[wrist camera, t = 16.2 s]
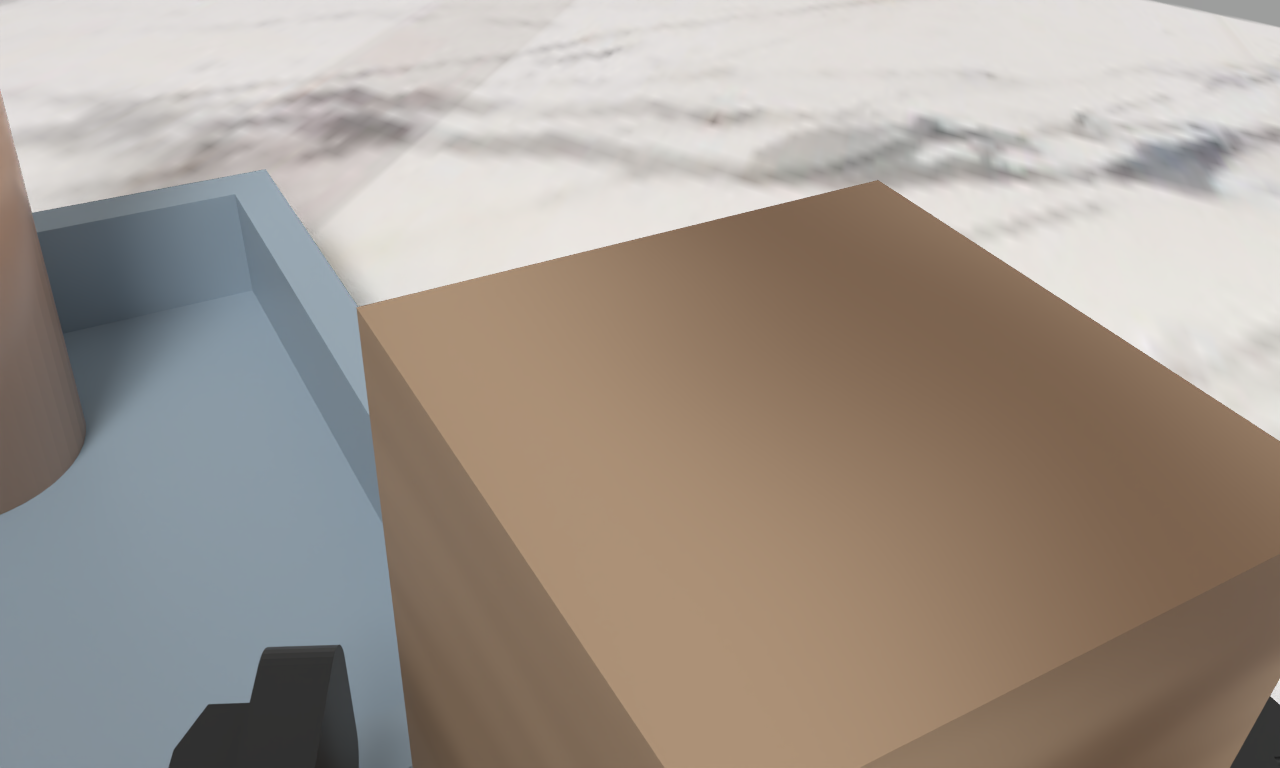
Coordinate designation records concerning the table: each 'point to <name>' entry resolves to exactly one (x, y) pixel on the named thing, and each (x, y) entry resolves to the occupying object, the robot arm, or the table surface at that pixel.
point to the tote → (195, 485)
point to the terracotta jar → (30, 352)
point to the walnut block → (811, 512)
